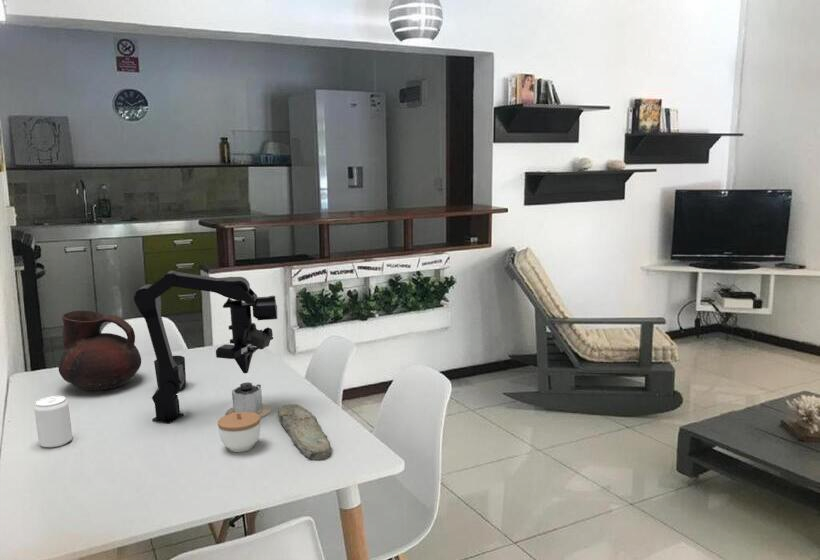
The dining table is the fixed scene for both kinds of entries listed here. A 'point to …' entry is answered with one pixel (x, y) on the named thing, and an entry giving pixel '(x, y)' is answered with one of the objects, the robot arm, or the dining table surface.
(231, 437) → the lidded jar
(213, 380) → the dining table surface
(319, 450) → the long grey stone
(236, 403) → the moka pot
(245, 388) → the dark round knob
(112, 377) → the jug
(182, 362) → the pen holder
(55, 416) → the beverage can
